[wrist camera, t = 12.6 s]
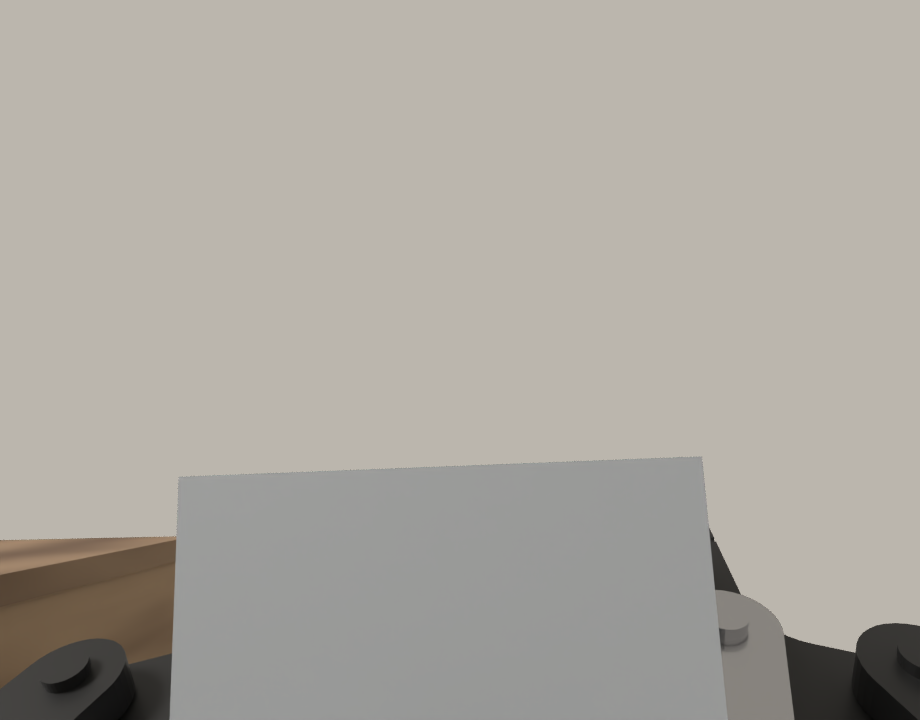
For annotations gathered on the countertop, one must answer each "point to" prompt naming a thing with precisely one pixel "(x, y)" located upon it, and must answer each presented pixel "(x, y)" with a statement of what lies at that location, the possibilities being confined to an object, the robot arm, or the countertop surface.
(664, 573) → the slate bar
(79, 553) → the walnut pedestal
